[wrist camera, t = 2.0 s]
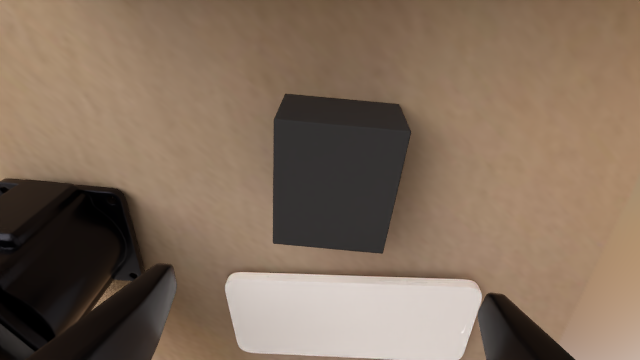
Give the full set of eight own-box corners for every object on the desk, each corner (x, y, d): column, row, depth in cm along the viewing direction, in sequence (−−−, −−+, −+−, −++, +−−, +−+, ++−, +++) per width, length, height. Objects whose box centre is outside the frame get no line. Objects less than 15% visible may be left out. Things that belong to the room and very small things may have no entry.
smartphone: (221, 278, 20) (486, 287, 19) (225, 268, 21) (481, 276, 20) (239, 352, 24) (460, 363, 23) (242, 342, 25) (457, 352, 24)
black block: (376, 214, 18) (382, 254, 16) (282, 205, 18) (272, 243, 16) (399, 103, 15) (411, 131, 12) (285, 93, 15) (273, 119, 12)
